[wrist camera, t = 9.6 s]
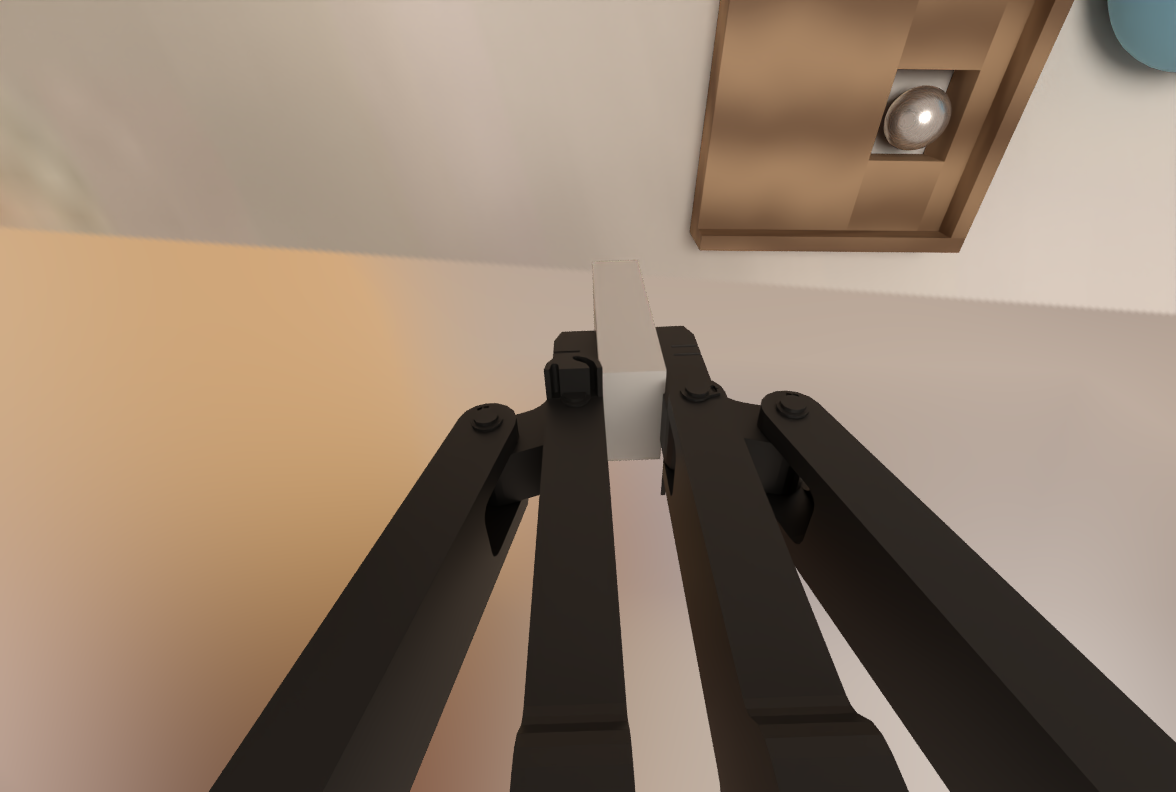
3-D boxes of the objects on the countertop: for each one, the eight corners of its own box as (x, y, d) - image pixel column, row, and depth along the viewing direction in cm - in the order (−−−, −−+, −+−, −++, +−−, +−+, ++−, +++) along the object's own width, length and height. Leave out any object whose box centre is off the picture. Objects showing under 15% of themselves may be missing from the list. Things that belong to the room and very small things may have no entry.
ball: (906, 83, 33) (885, 85, 31) (969, 85, 31) (951, 87, 29) (888, 144, 35) (866, 149, 33) (945, 150, 33) (926, 156, 31)
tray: (726, -53, 28) (745, -64, 25) (1041, -47, 28) (1100, -58, 25) (689, 231, 38) (699, 250, 34) (926, 234, 38) (959, 252, 35)
